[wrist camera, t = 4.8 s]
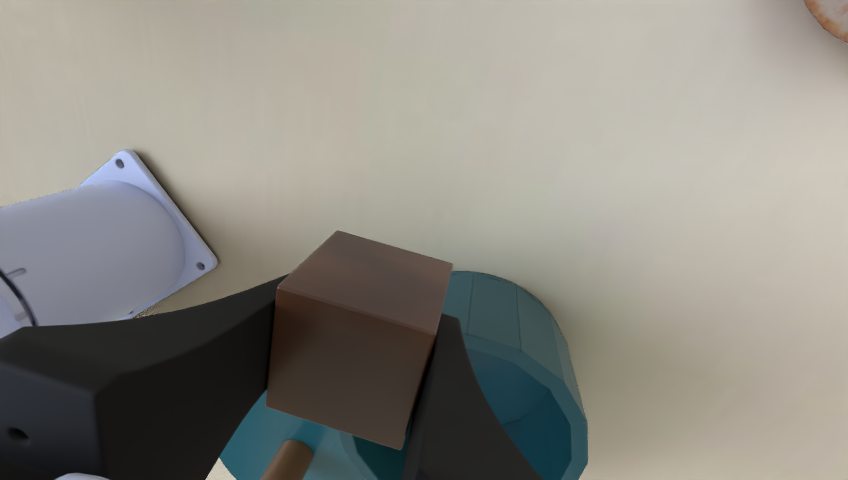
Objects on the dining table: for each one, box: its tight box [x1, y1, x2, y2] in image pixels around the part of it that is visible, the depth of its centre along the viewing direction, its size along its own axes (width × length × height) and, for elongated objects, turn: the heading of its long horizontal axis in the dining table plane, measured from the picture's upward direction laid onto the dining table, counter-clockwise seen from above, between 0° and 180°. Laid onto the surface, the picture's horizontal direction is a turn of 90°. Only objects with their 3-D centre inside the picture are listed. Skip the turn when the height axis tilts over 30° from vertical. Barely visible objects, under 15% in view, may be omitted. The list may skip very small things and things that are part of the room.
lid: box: [219, 389, 365, 480], centre depth 27 cm, size 13×13×4 cm
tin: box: [339, 271, 588, 480], centre depth 21 cm, size 11×11×6 cm
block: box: [265, 231, 453, 450], centre depth 12 cm, size 4×4×4 cm
